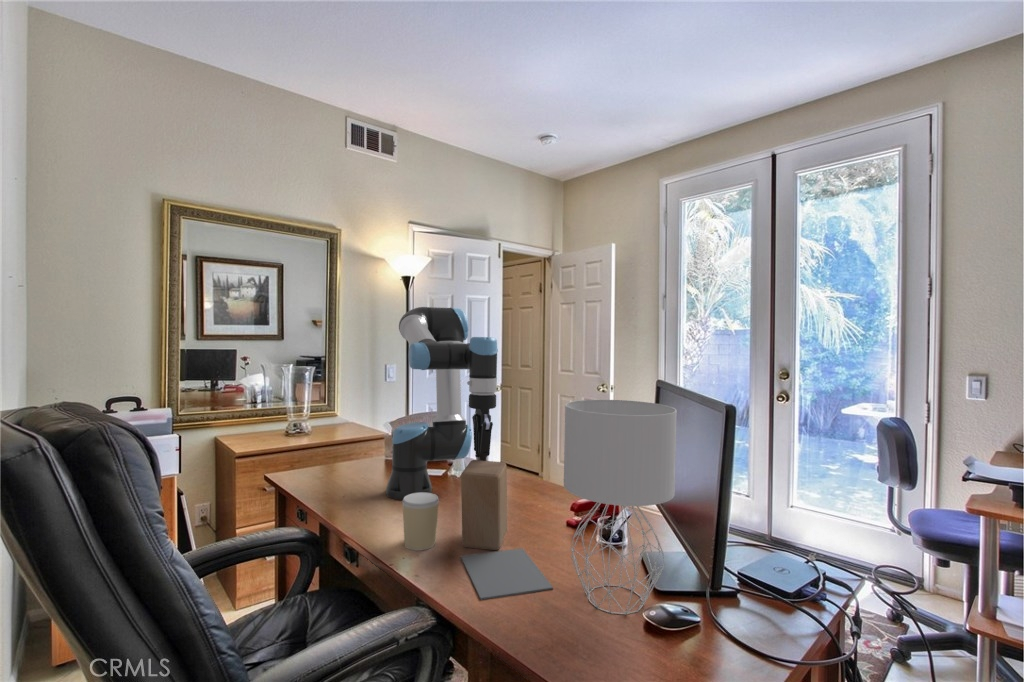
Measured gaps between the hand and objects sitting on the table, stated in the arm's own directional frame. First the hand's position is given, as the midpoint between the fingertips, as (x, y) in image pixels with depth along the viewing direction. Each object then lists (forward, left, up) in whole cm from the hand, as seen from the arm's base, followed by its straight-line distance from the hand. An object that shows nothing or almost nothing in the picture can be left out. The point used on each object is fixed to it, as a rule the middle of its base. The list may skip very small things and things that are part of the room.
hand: (481, 479), depth 134 cm
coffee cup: (+3, -17, -15) cm, 23 cm away
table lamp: (+40, +19, -15) cm, 47 cm away
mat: (+23, 0, -15) cm, 27 cm away
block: (+6, 0, -14) cm, 15 cm away
